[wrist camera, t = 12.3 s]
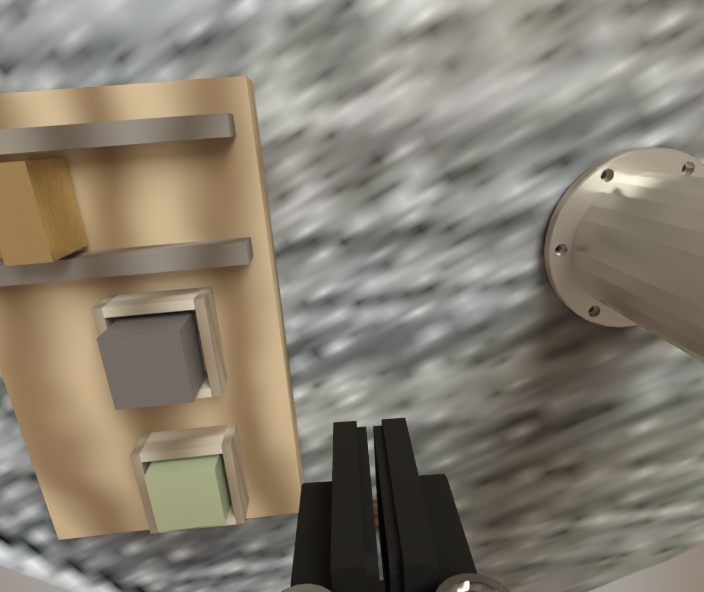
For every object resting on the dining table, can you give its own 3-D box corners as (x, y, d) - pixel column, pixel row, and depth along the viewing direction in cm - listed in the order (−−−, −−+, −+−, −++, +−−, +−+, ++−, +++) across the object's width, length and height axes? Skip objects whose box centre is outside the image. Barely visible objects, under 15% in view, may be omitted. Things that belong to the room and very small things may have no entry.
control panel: (252, 81, 29) (239, 70, 24) (304, 484, 39) (302, 537, 34) (-53, 103, 28) (-134, 96, 23) (77, 509, 38) (41, 567, 33)
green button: (223, 440, 33) (214, 468, 30) (232, 492, 35) (225, 524, 32) (158, 447, 33) (143, 476, 30) (171, 498, 34) (158, 531, 32)
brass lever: (66, 157, 27) (24, 161, 23) (88, 245, 28) (53, 262, 25) (21, 160, 27) (-27, 165, 23) (46, 248, 28) (5, 266, 24)
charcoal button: (192, 311, 29) (179, 330, 26) (205, 377, 30) (193, 401, 27) (118, 318, 29) (96, 338, 26) (134, 384, 30) (115, 410, 27)
